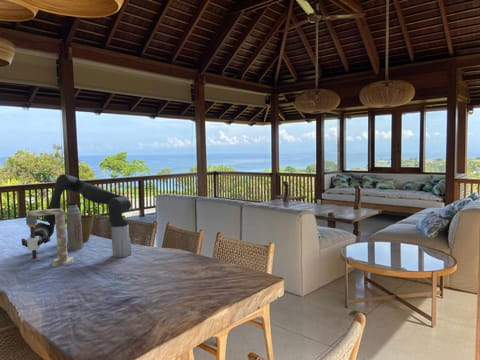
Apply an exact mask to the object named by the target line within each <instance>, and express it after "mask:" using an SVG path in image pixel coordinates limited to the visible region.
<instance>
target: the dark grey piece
mask: <svg viewBox="0 0 480 360" xmlns="http://www.w3.org/2000/svg"><path fill="white" fill-rule="evenodd" d="M25 221H26V222H25V223H26V225H27V226H28V228H29V232H30V235H31V238H35V230H34V228H35V226H36V224H38V216H29V217H28V215H27V216H26V217H25ZM31 253H32V255H31V256H32V257H31V258H30V262H31V263H37V262H39V259H40V258H39V257H38V256H37V250H31Z"/></svg>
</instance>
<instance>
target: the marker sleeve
mask: <svg viewBox="0 0 480 360" xmlns="http://www.w3.org/2000/svg"><path fill="white" fill-rule="evenodd" d="M26 240H27V246H28V247H27V251H32V250H36V251H38V250H39V249H40V248H41V245H39V246H38V245H37V242H38V240H39V236H35V238H31V237H30V236H28V237H27V238H26Z"/></svg>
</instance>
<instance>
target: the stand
mask: <svg viewBox="0 0 480 360" xmlns="http://www.w3.org/2000/svg"><path fill="white" fill-rule="evenodd" d="M44 215H55V235H56V247H57V258H54V260H53V261H52V264H51V266H52V267H58V266H59V265H60V266H66V265H67V266H68V265H73V262H74V256H68V240H67V226H66V213H65V209H64V210H63V208H62V207H61V209H36V210H35V209H33V210H29V211H27V216H28V217H29V216H37V217H39V216H41V217H42V216H44Z"/></svg>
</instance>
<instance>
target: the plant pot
mask: <svg viewBox="0 0 480 360" xmlns="http://www.w3.org/2000/svg"><path fill="white" fill-rule="evenodd" d="M93 224H94V215H91V214H84V215H83V214H81V226H82V242H83V243H85V242H88V241H89V239H90V236H91V233H92V230H93Z"/></svg>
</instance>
